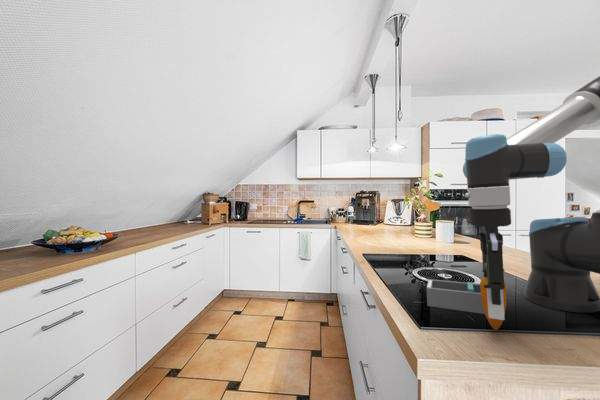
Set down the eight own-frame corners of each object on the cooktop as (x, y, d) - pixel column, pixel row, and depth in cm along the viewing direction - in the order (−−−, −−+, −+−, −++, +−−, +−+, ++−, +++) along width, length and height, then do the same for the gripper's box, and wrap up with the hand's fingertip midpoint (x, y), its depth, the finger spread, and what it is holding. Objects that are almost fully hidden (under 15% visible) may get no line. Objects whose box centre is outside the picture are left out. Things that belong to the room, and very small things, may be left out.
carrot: (503, 325, 61) (499, 259, 61) (514, 336, 56) (510, 264, 56) (478, 323, 62) (474, 259, 62) (487, 334, 58) (483, 264, 57)
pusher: (472, 298, 76) (472, 282, 76) (474, 306, 71) (473, 289, 71) (467, 297, 77) (467, 282, 77) (469, 305, 72) (468, 288, 72)
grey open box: (497, 303, 75) (496, 285, 75) (502, 316, 67) (502, 296, 67) (429, 295, 83) (428, 279, 83) (427, 306, 75) (426, 288, 75)
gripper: (466, 205, 69) (471, 296, 69) (471, 210, 53) (477, 328, 53) (502, 204, 65) (508, 300, 65) (519, 209, 49) (526, 335, 50)
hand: (494, 312), depth 59 cm, fingers closed on carrot, 5 cm apart
